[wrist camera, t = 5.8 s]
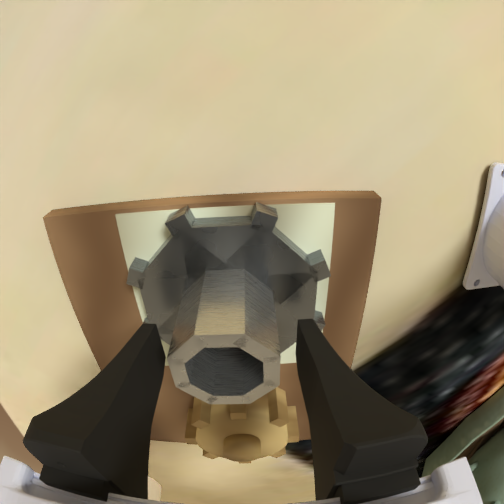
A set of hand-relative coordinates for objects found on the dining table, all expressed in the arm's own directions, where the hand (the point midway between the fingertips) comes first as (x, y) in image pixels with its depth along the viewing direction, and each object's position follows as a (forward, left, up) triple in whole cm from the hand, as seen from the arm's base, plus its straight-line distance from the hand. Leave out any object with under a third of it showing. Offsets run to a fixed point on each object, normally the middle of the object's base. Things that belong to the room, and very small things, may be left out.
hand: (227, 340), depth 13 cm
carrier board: (+1, +5, -4) cm, 6 cm away
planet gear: (0, 0, -3) cm, 3 cm away
